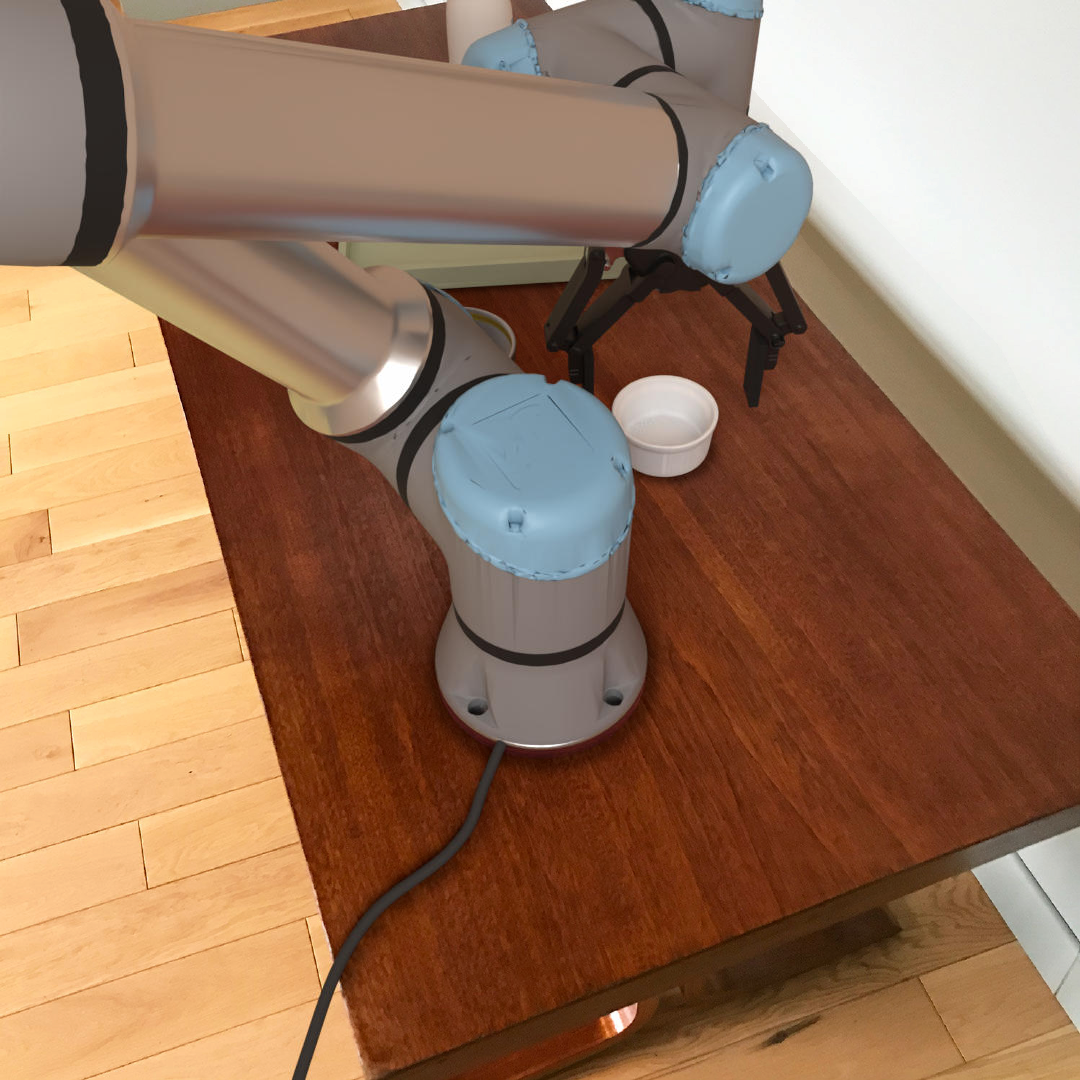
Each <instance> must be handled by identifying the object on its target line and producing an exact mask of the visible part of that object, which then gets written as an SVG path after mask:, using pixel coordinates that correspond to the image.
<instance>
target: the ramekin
mask: <svg viewBox="0 0 1080 1080" xmlns="http://www.w3.org/2000/svg"><path fill="white" fill-rule="evenodd" d="M715 399H716V398H715V397H714V396H713V395H712V394H711V392H710V391H709V390H708V389H707V388H705V386H702V385H701V384H700V383H698V382H696V381H693V380H691V379H688V378H685V377H682V376H676V375H670V374H669V375H666V374H665V375H664V374H662V375H661V374H660V375H659V374H658V375H651V376H646V377H642V378H638V379H637V380H634V381H632V382H630V383H628V384H627V385H625V386H624V387H623V388H622V389H621V390H620V391H618V393H617V394H616V396H615V398H614V399H613V402H612V405H611V413H612V414H613V415H614V416H615V418H616V419H617V421H618V422H619V424H620V426H621V427H622V429H623V431H624V434H625V436H626V439H627V441H628V445H629V448H630V453H631V460H632V470H633V469H634V470H635V471H637V472H640V473H642V474H644V475H647V476H651V477H659V478H670V477H678V476H681V475H684V474H688V473H689V472H691V471H694V470H695V469H696V468H698V467H699V466H700V465H701V464H702V463H703V461H705V459H706V457H707V456H708V454H709V453H708V452H709V449H710V445H711V443H712V442H711V441H712V438H713V434H714V431H715V429H716V426H717V424H718V420H719V407H718V403H717V401H716V400H715Z"/></svg>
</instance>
